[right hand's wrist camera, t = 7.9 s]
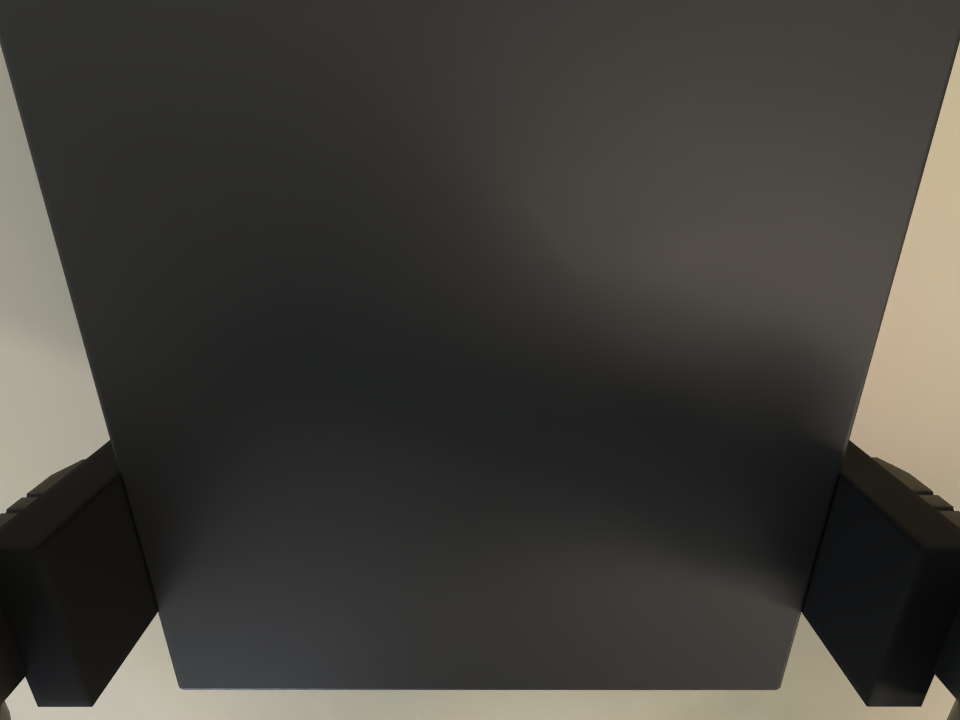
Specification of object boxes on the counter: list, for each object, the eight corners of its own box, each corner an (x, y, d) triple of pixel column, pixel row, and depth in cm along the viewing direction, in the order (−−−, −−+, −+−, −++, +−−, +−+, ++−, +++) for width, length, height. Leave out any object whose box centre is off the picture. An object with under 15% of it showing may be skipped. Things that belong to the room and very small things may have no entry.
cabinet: (205, -406, 11) (-568, -1963, 3) (755, -407, 11) (1525, -1963, 3) (313, 448, 18) (177, 692, 10) (646, 448, 18) (782, 692, 10)
